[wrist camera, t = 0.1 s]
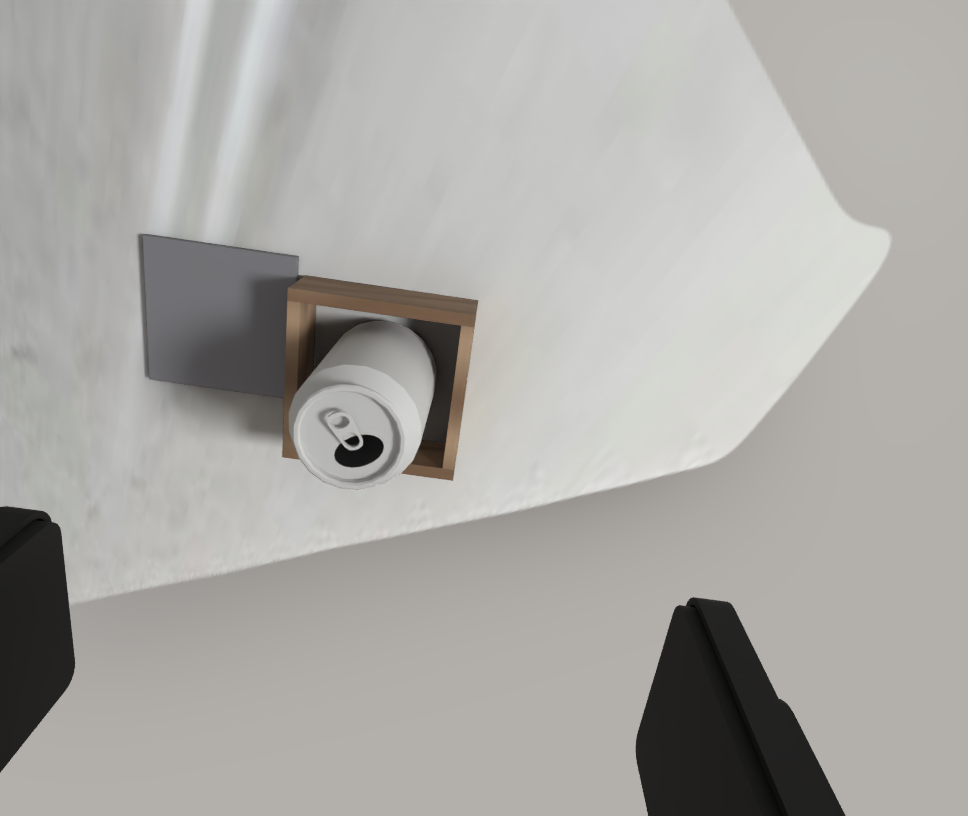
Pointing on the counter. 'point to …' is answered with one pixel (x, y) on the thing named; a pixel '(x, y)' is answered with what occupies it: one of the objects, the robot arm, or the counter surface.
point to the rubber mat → (217, 314)
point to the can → (364, 406)
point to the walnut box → (386, 301)
